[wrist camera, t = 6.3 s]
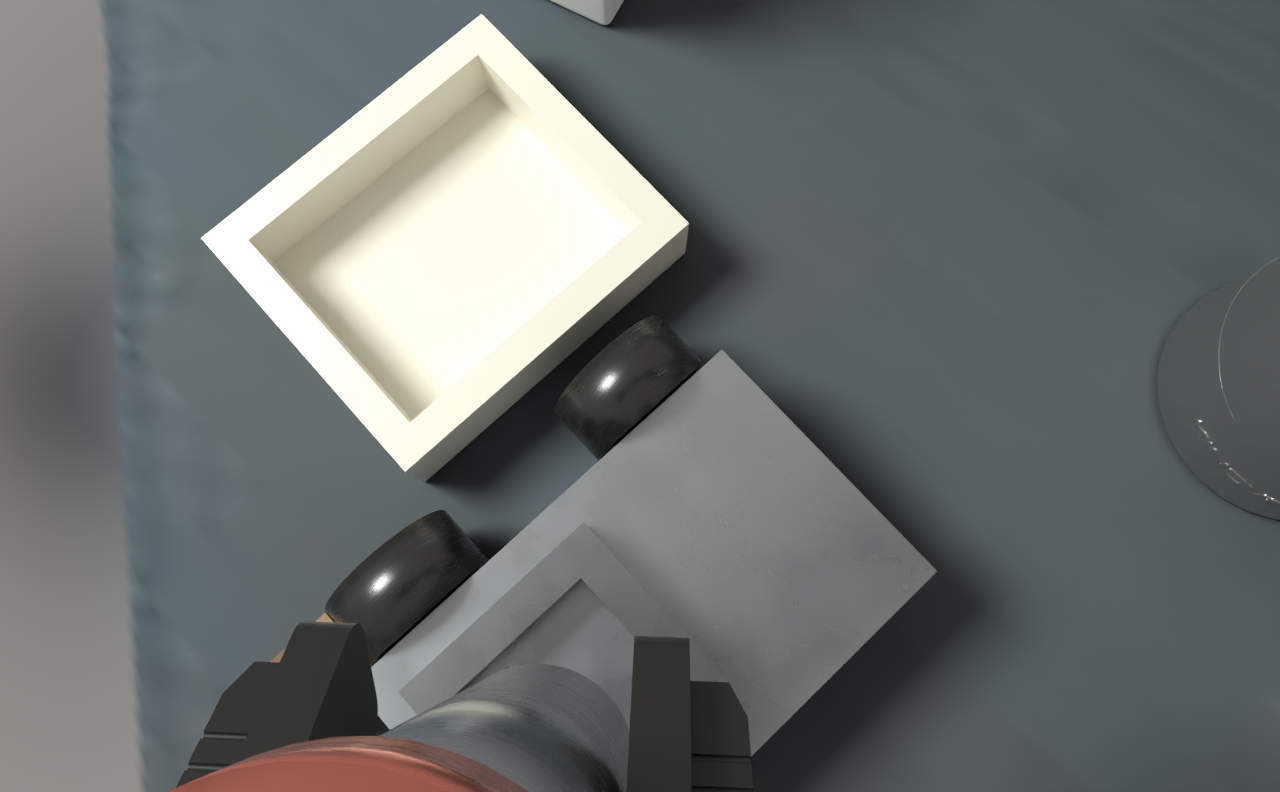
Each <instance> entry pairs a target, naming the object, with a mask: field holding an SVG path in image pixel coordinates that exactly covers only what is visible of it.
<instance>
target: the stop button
mask: <svg viewBox="0 0 1280 792" xmlns="http://www.w3.org/2000/svg"><path fill="white" fill-rule="evenodd" d="M628 750H629V728H628V725H627V723H626V721H625V718H624V717H623V715H622V713H621V712H620V710H619V708H618V707H617V705H616V704H615V703H614V701H613V700H612V699H611V697H610V696H609V695H608V694H607V693H606V692H605V691H604V690H603V689H602V688H601V687H599V686H598V685H597V684H595V683H594V682H593V681H592V680H590V679H588V678H587V677H585V676H583V675H581V674H580V673H577V672H575V671H572V670H570V669H568V668H564V667H560V666H556V665H549V664H526V665H520V666H515V667H512V668H508V669H505V670H503V671H500V672H498V673H496V674H494V675H492V676H490V677H488V678H486V679H484V680H482V681H480V682H478V683H477V684H475V685H473V686H471V687H469V688H467V689H465V690H463V691H462V692H460V693H458V694H456V695H454V696H452V697H450V698H448V699H447V700H445V701H443V702H441V703H439V704H437V705H435V706H434V707H432V708H430V709H428V710H426V711H424V712H422V713H420V714H419V715H417V716H415V717H413V718H411V719H409V720H407V721H405V722H404V723H402V724H400V725H398V726H396V727H394V728H392V729H390V730H389V731H387V732H385V733H383V734H381V735H379V736H340V737H328V738H322V739H316V740H310V741H304V742H297V743H293V744H289V745H286V746H283V747H279V748H276V749H273V750H270V751H266V752H263V753H260V754H256V755H254V756H251V757H249V758H246V759H244V760H242V761H239V762H237V763H234V764H232V765H230V766H227V767H225V768H222V769H220V770H218V771H215V772H213V773H210V774H208V775H205V776H203V777H201V778H198V779H196V780H193V781H191V782H189V783H186V784H184V785H182V786H180V787H177V788H175V789H173V790H171V791H169V792H626V789H627V769H628Z"/></svg>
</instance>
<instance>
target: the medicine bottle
mask: <svg viewBox="0 0 1280 792" xmlns="http://www.w3.org/2000/svg"><path fill="white" fill-rule="evenodd" d="M550 1H552V2H554V3H556V4H558V5H560V6H563V7H565V8H567V9H569V10H571V11H573V12H575V13H578V14H580V15H582V16H584V17H586V18H588V19H590V20H593V21H595V22H597V23H599V24H601V25H607V24H609V23H611V22H612V20H613V18H614V17H615V15H616V13H617V11H618V10H619V8H620V6H621V5H622V3H623V1H624V0H550Z"/></svg>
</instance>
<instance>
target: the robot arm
mask: <svg viewBox="0 0 1280 792" xmlns="http://www.w3.org/2000/svg"><path fill="white" fill-rule="evenodd" d="M1157 392H1158V400H1159V408H1160V413H1161V416H1162V419H1163V422H1164V425H1165V428H1166V431H1167V434H1168V436H1169V438H1170V440H1171V441H1172V443H1173V445H1174V447H1175V448H1176V450H1177V452H1178V454H1179V455H1180V457H1181V459H1182V460H1183V461H1184V463H1185V464H1186V465H1187V466H1188V467H1189V468H1190V469H1191V471H1192V472H1193V473H1194V474H1195V475H1196V476H1197V477H1198V479H1199V480H1200V481H1201V482H1203V483H1204V484H1205V485H1206V486H1208V487H1209V488H1210V489H1211V490H1213V491H1214V492H1215V493H1216V494H1218V495H1219V496H1220V497H1222V498H1223V499H1225V500H1227V501H1229V502H1231V503H1233V504H1235V505H1236V506H1238V507H1240V508H1242V509H1244V510H1246V511H1249V512H1252V513H1255V514H1259V515H1262V516H1265V517H1269V518H1272V519H1280V257H1278V258H1276V259H1274V260H1272V261H1270V262H1268V263H1267V264H1265V265H1263V266H1261V267H1259V268H1257V269H1255V270H1253V271H1252V272H1250V273H1248V274H1246V275H1244V276H1242V277H1240V278H1239V279H1237V280H1235V281H1233V282H1231V283H1229V284H1227V285H1225V286H1224V287H1222V288H1220V289H1218V290H1216V291H1214V292H1213V293H1211V294H1209V295H1208V296H1206V297H1204V298H1203V299H1201V300H1199V301H1198V302H1196V303H1195V304H1194V305H1193V306H1192V307H1191V308H1190V309H1189V310H1188V311H1187V312H1186V313H1185V314H1184V315H1183V316H1182V317H1181V318H1179V320H1178V322H1177V323H1176V325H1175V326H1174V328H1173V330H1172V331H1171V333H1170V334H1169V336H1168V337H1167V339H1166V342H1165V345H1164V348H1163V351H1162V354H1161V357H1160V360H1159V368H1158V378H1157ZM377 718H378V702H377V695H376V690H375V684H374V679H373V674H372V669H371V664H370V659H369V654H368V649H367V644H366V639H365V634H364V630H363V627H362V626H361V624H359V623H335V622H311V621H303V622H301V623H299V624H298V625H297V627H296V628H295V630H294V632H293V634H292V636H291V638H290V640H289V643H288V645H287V647H286V649H285V652H284V654H283V656H282V658H281V660H280V663H278V662H254V663H253V664H252V665H251V666H250V667H249V668H248V669H247V670H246V671H245V672H244V673H243V674H242V675H241V676H240V677H239V678H238V679H237V680H236V681H235V682H234V683H233V684H232V685H231V686H230V687H229V688H228V689H227V690H226V691H225V692H224V693H223V694H222V696H221V698H220V700H219V702H218V704H217V706H216V708H215V710H214V712H213V714H212V716H211V718H210V720H209V722H208V724H207V726H206V728H205V730H204V737H203V739H200V740H199V742H198V744H197V746H196V748H195V750H194V752H193V754H192V756H191V759H190V761H189V767H188V770H187V771H186V770H185V771H184V773H183V775H182V777H181V779H180V781H179V783H178V785H177V787H180V786H182V785H184V784H186V783H189V782H191V781H193V780H196V779H198V778H201V777H203V776H205V775H208V774H210V773H213V772H215V771H218V770H220V769H222V768H225V767H227V766H230V765H232V764H234V763H237V762H239V761H242V760H244V759H246V758H249V757H251V756H254V755H256V754H260V753H263V752H266V751H270V750H273V749H276V748H279V747H283V746H286V745H289V744H293V743H297V742H304V741H310V740H316V739H322V738H328V737H340V736H375V734H376V728H377ZM177 787H176V788H177ZM626 792H753V778H752V765H751V751H750V737H749V724H748V716H747V714H746V713H745V711H744V709H743V707H742V705H741V703H740V701H739V700H738V698H737V696H736V694H735V692H734V690H733V689H732V687H731V685H730V683H729V682H709V681H690V642H689V638H677V637H653V636H634V652H633V672H632V691H631V711H630V730H629V750H628V769H627V789H626Z"/></svg>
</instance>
